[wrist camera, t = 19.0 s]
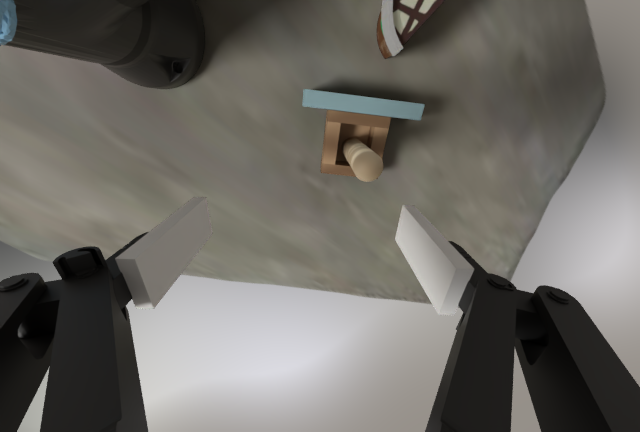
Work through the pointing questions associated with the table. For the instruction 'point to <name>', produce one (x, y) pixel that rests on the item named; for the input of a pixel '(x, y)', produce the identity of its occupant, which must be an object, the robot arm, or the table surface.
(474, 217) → the table surface
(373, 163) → the dowel
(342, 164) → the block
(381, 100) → the wall
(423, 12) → the food container
